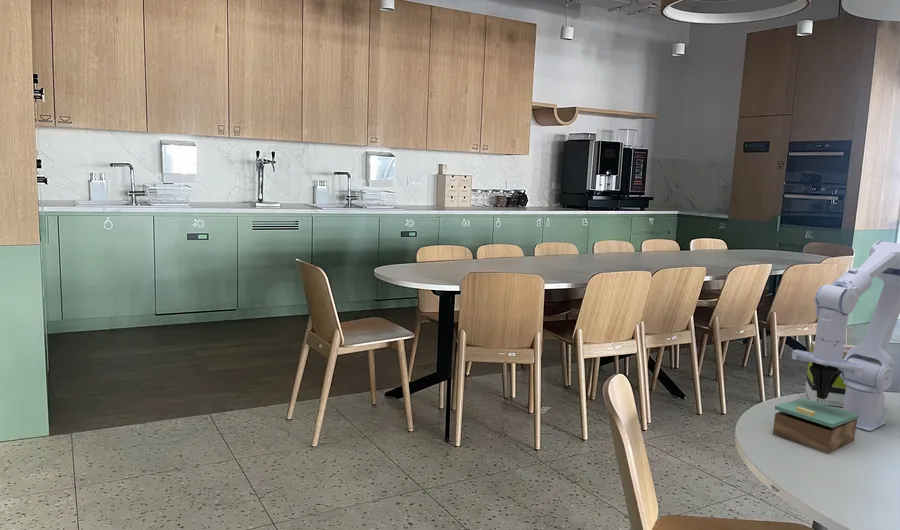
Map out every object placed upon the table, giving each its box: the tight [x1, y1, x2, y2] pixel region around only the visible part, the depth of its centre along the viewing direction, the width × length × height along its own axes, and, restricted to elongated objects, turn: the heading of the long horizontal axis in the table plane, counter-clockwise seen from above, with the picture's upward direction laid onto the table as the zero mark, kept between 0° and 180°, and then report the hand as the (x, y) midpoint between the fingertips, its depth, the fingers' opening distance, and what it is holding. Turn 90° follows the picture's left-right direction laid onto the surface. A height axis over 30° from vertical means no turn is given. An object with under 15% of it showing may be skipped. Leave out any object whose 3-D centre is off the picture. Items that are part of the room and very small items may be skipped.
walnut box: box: [772, 411, 857, 455], centre depth 153 cm, size 13×12×5 cm
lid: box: [774, 397, 859, 428], centre depth 152 cm, size 14×12×2 cm
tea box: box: [805, 340, 882, 408], centre depth 177 cm, size 15×10×15 cm, turn 69°
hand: (822, 397), depth 153 cm, fingers closed
